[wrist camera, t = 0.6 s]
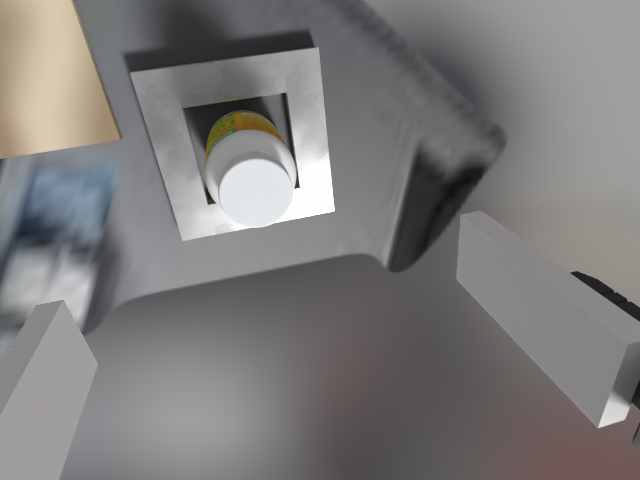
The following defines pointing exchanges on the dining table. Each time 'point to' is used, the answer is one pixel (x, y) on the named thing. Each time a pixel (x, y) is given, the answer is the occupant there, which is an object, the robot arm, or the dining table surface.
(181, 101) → the grey square frame
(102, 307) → the dining table surface
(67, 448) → the robot arm
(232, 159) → the supplement bottle
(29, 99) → the oak pad
